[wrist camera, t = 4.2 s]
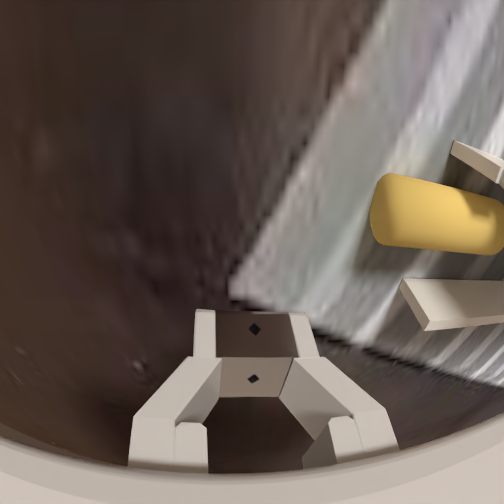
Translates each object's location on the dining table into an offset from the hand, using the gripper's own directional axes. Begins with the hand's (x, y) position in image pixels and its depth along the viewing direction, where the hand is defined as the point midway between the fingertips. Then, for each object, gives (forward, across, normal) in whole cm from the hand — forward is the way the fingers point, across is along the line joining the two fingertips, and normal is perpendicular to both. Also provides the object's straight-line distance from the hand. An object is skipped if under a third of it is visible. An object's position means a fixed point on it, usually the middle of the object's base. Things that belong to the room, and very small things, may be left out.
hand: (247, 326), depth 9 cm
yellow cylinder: (+5, -9, 0) cm, 11 cm away
